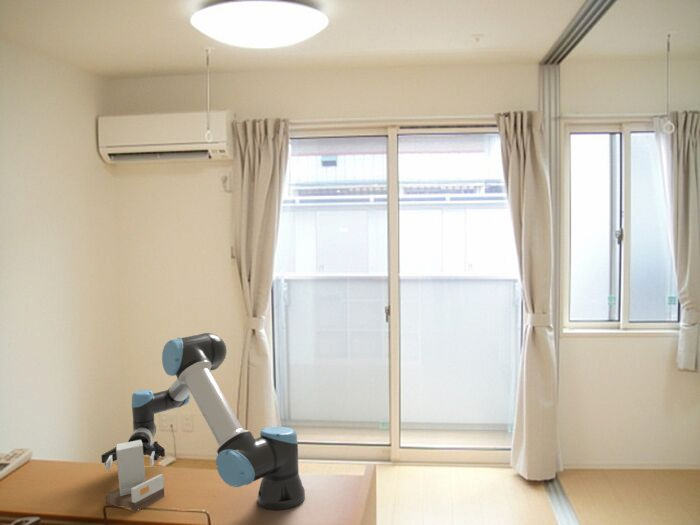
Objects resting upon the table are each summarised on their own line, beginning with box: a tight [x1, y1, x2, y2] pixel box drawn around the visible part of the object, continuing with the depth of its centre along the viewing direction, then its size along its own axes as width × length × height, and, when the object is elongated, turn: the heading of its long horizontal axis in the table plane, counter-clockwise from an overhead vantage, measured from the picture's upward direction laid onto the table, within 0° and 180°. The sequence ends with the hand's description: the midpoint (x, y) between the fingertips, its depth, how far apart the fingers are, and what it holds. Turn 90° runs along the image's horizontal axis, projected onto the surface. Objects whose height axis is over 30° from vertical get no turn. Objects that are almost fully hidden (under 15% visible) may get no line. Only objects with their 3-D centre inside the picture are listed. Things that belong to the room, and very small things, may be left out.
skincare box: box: [115, 440, 146, 496], centre depth 193 cm, size 8×7×16 cm
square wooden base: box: [104, 473, 165, 513], centre depth 193 cm, size 14×12×7 cm
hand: (129, 464), depth 189 cm, fingers open, 13 cm apart
